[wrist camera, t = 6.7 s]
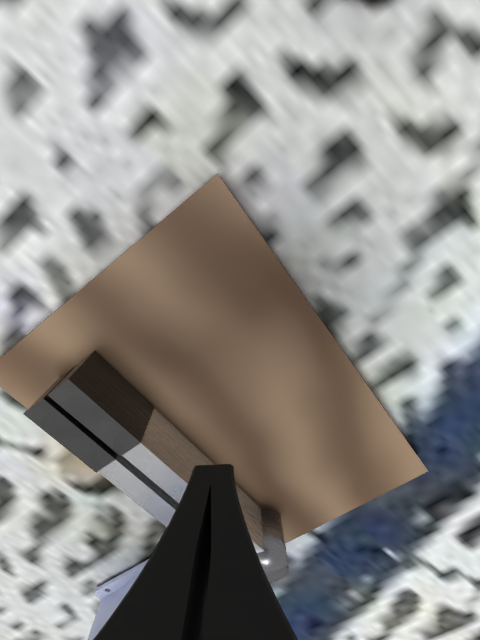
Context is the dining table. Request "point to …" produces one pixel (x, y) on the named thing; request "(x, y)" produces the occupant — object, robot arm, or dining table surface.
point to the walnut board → (228, 364)
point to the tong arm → (156, 446)
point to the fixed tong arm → (100, 456)
